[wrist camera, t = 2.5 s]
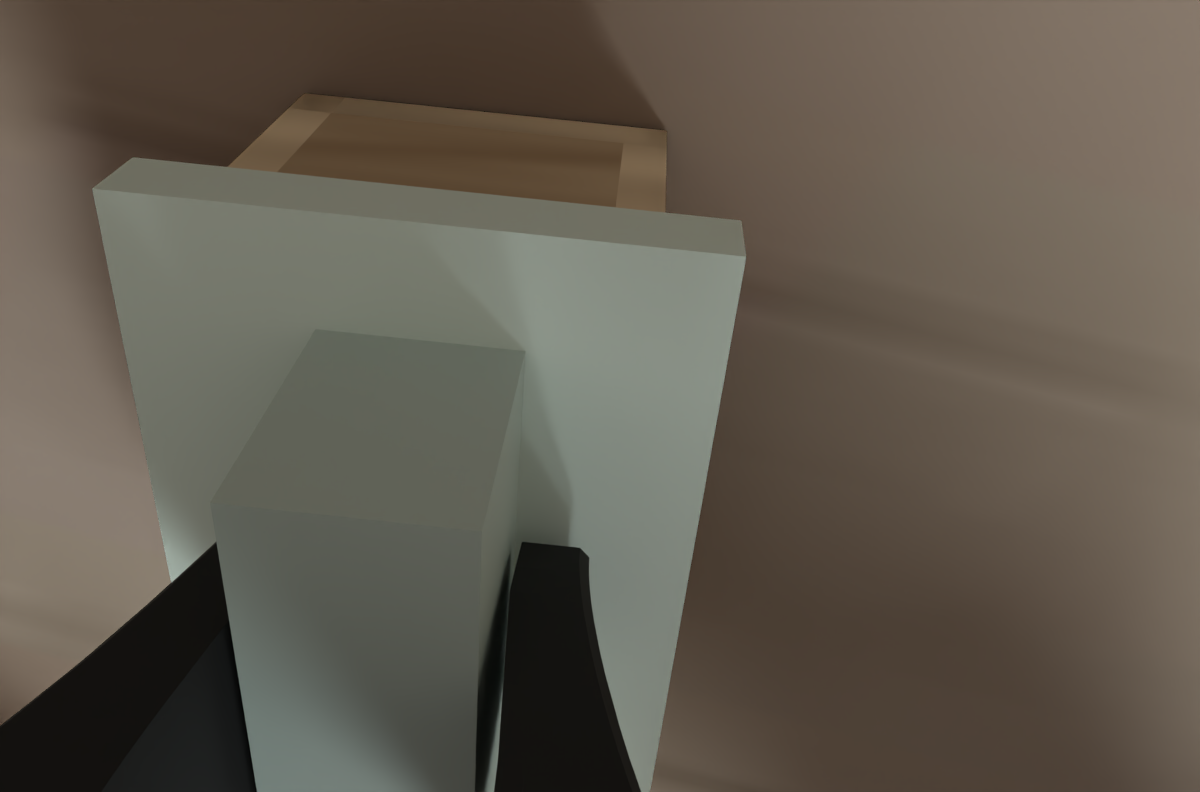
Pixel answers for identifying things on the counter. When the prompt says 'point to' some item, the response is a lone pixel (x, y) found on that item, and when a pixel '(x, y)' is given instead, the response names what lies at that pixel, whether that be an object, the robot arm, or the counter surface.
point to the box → (465, 152)
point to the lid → (417, 443)
